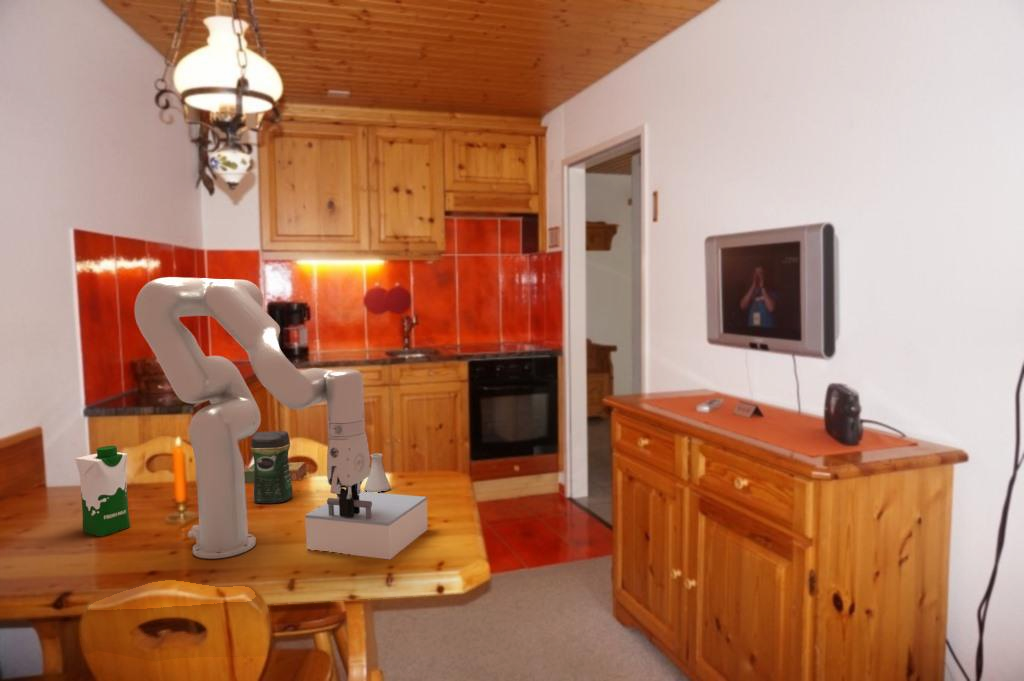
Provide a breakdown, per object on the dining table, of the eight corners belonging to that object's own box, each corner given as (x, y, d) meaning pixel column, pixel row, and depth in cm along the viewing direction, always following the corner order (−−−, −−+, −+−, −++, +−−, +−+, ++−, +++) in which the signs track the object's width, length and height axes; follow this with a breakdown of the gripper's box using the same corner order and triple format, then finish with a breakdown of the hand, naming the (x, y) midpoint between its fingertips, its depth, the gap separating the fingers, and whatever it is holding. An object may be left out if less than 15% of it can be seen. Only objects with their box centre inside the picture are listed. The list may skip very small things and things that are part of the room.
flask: (359, 490, 188) (358, 454, 187) (382, 484, 192) (380, 450, 192) (373, 495, 182) (371, 459, 181) (395, 490, 187) (394, 454, 186)
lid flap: (305, 517, 144) (304, 498, 144) (350, 493, 161) (349, 475, 161) (388, 525, 138) (388, 505, 137) (426, 499, 155) (426, 481, 154)
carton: (299, 482, 198) (298, 468, 197) (243, 484, 197) (243, 470, 197) (306, 474, 206) (306, 461, 205) (253, 476, 205) (253, 462, 205)
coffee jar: (296, 495, 184) (293, 428, 183) (285, 504, 176) (282, 434, 175) (262, 495, 184) (258, 428, 183) (249, 504, 177) (245, 434, 175)
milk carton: (100, 539, 153) (94, 452, 152) (75, 533, 157) (69, 449, 156) (136, 526, 161) (131, 444, 160) (112, 521, 165) (107, 441, 164)
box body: (306, 549, 144) (305, 517, 144) (351, 521, 161) (350, 493, 161) (390, 559, 138) (388, 526, 138) (427, 529, 155) (426, 499, 155)
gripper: (341, 437, 132) (345, 529, 134) (380, 422, 147) (383, 504, 148) (308, 435, 135) (312, 525, 136) (350, 421, 149) (353, 502, 151)
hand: (349, 514), depth 142 cm, fingers closed
